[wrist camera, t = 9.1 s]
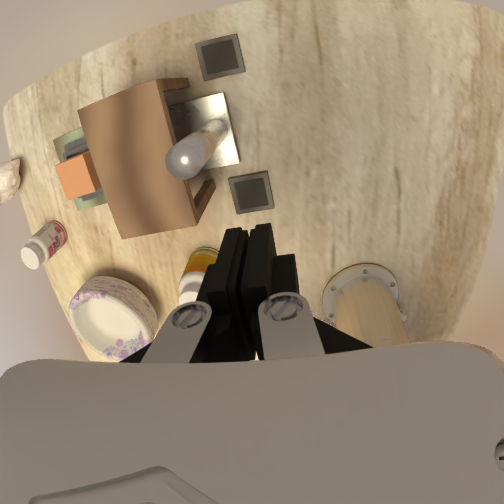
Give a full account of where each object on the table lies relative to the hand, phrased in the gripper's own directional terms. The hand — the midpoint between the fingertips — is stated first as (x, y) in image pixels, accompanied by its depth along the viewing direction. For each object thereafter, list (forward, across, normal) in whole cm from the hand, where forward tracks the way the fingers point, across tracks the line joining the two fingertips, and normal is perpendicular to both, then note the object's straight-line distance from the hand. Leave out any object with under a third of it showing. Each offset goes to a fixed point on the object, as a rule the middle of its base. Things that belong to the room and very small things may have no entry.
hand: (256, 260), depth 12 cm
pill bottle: (+29, +38, +7) cm, 48 cm away
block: (+28, +24, -2) cm, 37 cm away
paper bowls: (+30, +30, +22) cm, 48 cm away
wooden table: (+29, +16, -2) cm, 33 cm away
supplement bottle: (+29, +12, +17) cm, 36 cm away
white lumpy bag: (+29, +44, -5) cm, 53 cm away
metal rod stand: (+29, +17, -2) cm, 33 cm away
